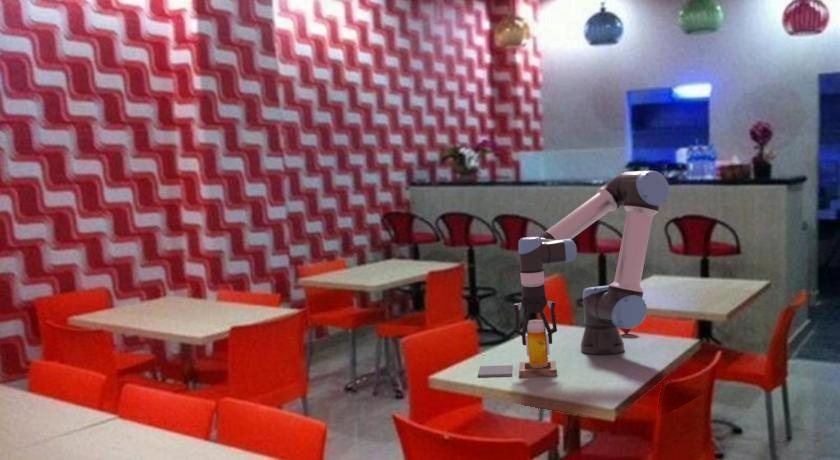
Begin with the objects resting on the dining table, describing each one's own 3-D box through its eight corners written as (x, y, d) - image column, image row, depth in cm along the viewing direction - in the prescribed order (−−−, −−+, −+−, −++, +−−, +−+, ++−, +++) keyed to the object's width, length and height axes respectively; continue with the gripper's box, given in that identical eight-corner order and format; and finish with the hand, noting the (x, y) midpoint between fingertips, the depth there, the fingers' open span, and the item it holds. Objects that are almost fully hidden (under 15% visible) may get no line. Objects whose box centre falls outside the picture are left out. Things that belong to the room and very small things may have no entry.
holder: (556, 366, 259) (555, 360, 259) (557, 375, 248) (556, 369, 247) (520, 367, 261) (519, 361, 261) (519, 377, 249) (519, 371, 249)
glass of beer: (548, 367, 251) (544, 322, 250) (529, 368, 252) (525, 323, 251) (548, 363, 257) (545, 318, 256) (530, 363, 258) (526, 319, 257)
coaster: (512, 367, 262) (512, 365, 262) (511, 376, 251) (511, 373, 251) (480, 368, 264) (480, 366, 264) (477, 377, 253) (477, 374, 253)
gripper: (561, 280, 255) (567, 349, 256) (504, 284, 257) (509, 352, 259) (562, 284, 247) (568, 355, 249) (503, 288, 250) (509, 358, 252)
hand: (538, 354), depth 254 cm, fingers closed on glass of beer, 6 cm apart
